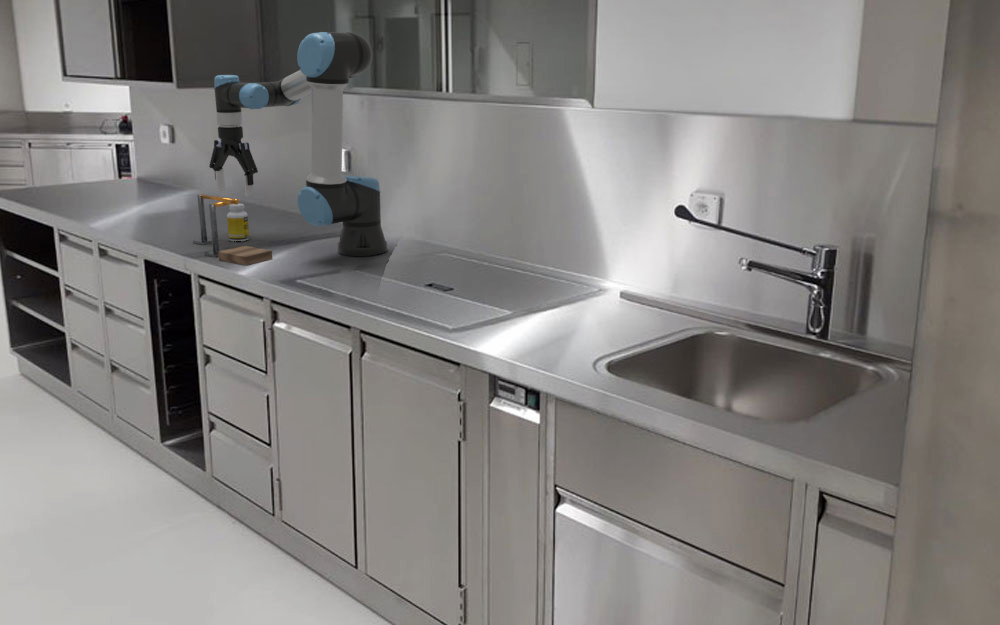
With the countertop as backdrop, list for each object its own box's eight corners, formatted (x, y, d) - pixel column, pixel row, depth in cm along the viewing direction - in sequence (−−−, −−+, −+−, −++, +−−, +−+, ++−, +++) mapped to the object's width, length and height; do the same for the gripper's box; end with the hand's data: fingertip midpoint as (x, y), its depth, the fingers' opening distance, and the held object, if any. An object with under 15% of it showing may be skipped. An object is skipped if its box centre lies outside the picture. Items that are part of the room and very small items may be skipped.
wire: (251, 248, 288) (247, 198, 283) (215, 257, 277) (210, 204, 272) (205, 240, 300) (201, 191, 295) (169, 248, 289) (164, 197, 284)
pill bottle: (243, 242, 297) (241, 206, 294) (225, 241, 298) (222, 206, 295) (253, 238, 303) (250, 203, 300) (234, 237, 304) (231, 202, 301)
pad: (272, 258, 275) (271, 250, 275) (246, 265, 267) (245, 257, 267) (245, 253, 282) (244, 245, 281) (218, 259, 274) (218, 251, 273)
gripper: (266, 127, 286) (270, 195, 292) (213, 122, 300) (218, 187, 306) (247, 129, 280) (252, 198, 287) (194, 124, 294) (200, 190, 300)
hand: (235, 193), depth 296 cm, fingers open, 13 cm apart
